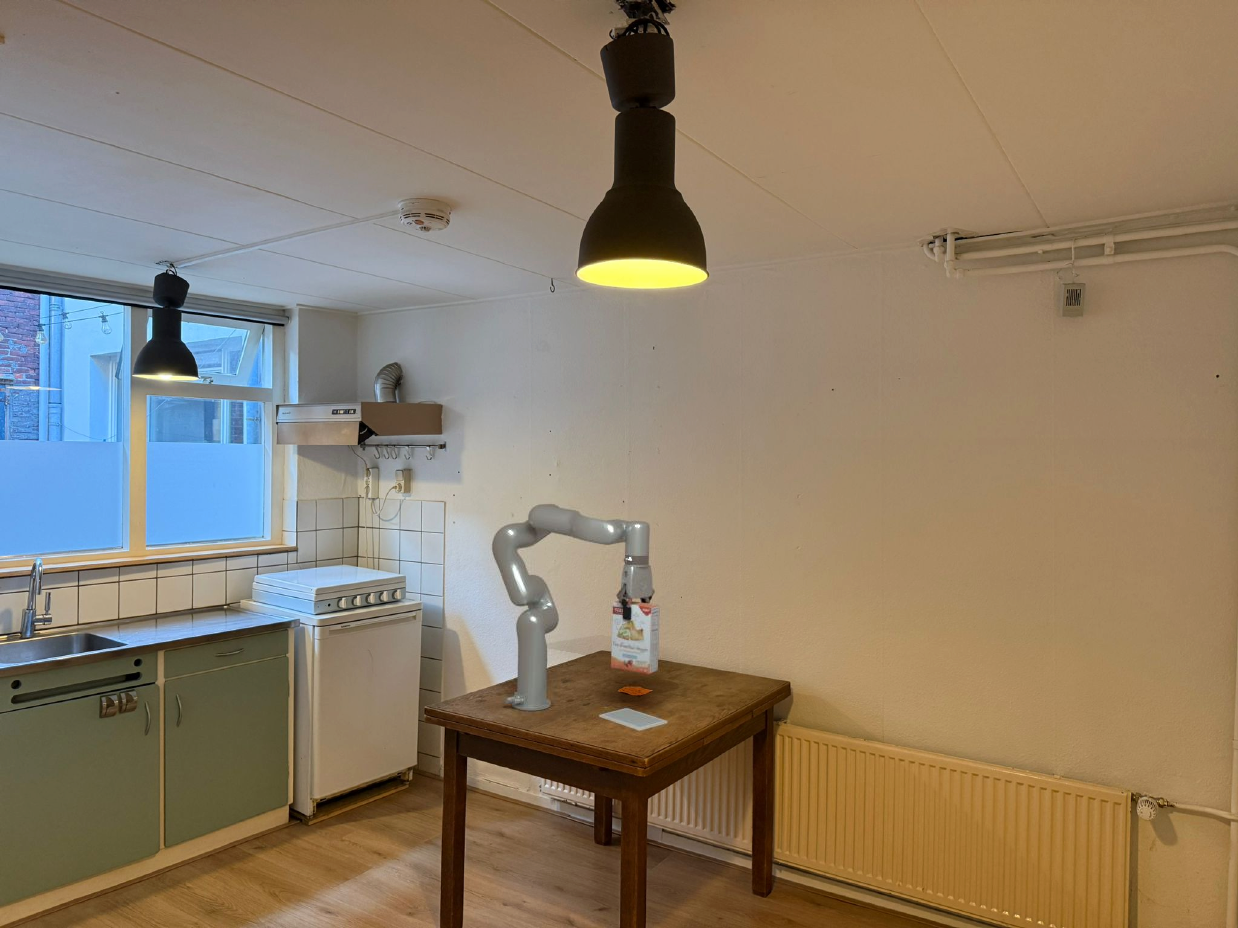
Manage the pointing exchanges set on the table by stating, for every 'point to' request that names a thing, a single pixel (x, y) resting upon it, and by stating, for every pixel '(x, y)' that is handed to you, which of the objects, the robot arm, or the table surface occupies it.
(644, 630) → the cracker box
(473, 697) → the table surface
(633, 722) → the plate
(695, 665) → the table surface
